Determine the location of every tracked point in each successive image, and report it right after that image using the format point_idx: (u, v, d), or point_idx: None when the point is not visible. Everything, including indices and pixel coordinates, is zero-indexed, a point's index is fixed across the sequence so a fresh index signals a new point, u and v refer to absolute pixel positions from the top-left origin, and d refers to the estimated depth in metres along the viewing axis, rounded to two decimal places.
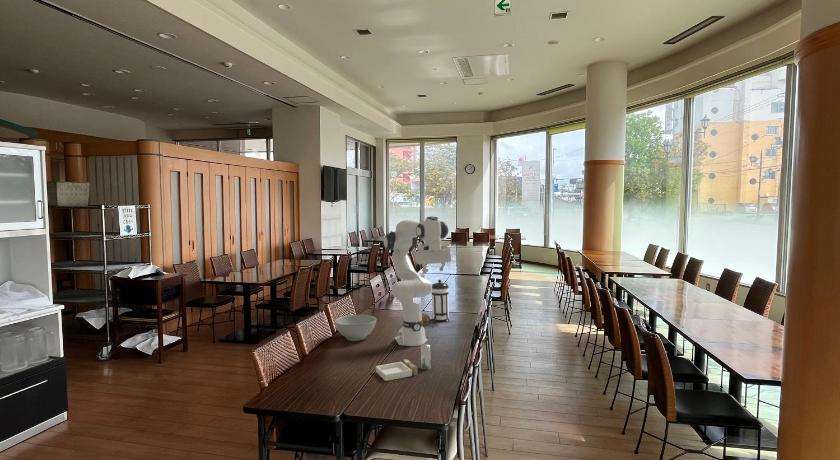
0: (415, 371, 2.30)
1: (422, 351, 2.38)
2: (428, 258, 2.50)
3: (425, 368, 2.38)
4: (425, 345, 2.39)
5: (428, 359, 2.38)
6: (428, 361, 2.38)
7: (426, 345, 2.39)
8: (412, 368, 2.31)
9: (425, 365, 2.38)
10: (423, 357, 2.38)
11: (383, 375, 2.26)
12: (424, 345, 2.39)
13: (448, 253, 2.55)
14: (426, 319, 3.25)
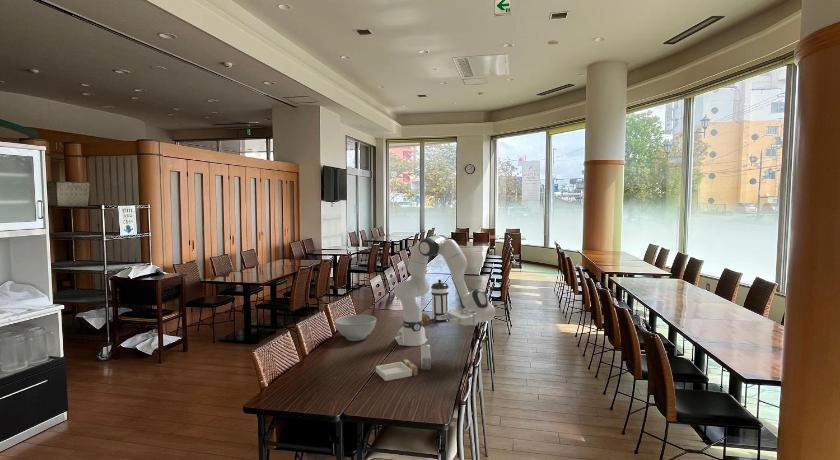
0: (415, 371, 2.30)
1: (422, 351, 2.38)
2: None
3: (425, 368, 2.38)
4: (425, 345, 2.39)
5: (428, 359, 2.38)
6: (428, 361, 2.38)
7: (426, 345, 2.39)
8: (412, 368, 2.31)
9: (425, 365, 2.38)
10: (423, 357, 2.38)
11: (383, 375, 2.26)
12: (424, 345, 2.39)
13: None
14: (426, 319, 3.25)
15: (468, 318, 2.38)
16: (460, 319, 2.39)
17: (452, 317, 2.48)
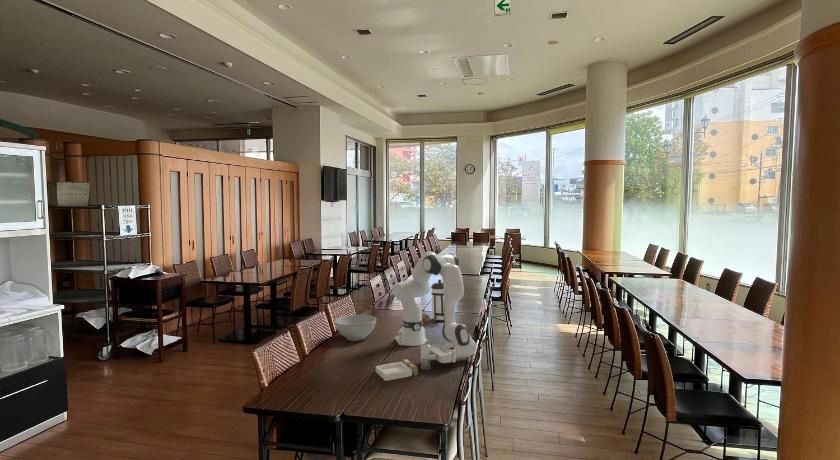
0: (415, 371, 2.30)
1: (422, 351, 2.38)
2: None
3: (425, 368, 2.38)
4: (425, 345, 2.39)
5: (428, 359, 2.38)
6: (428, 361, 2.38)
7: (426, 345, 2.39)
8: (412, 368, 2.31)
9: (425, 365, 2.38)
10: (423, 357, 2.38)
11: (383, 375, 2.26)
12: (424, 345, 2.39)
13: None
14: (426, 319, 3.25)
15: (447, 356, 2.34)
16: (439, 356, 2.34)
17: (431, 353, 2.44)
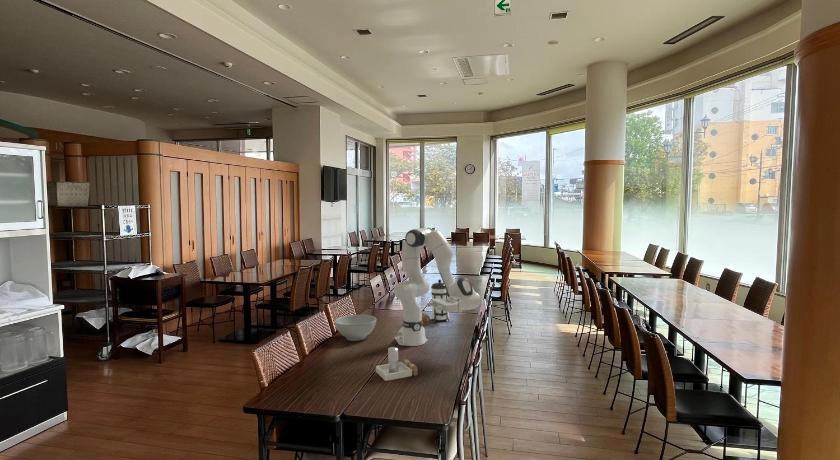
0: (415, 371, 2.30)
1: (389, 355, 2.30)
2: None
3: None
4: (392, 349, 2.31)
5: (395, 363, 2.30)
6: (395, 365, 2.30)
7: (394, 348, 2.31)
8: (412, 368, 2.31)
9: (393, 370, 2.30)
10: (390, 361, 2.30)
11: (383, 375, 2.26)
12: (391, 348, 2.31)
13: None
14: (426, 319, 3.25)
15: (453, 305, 2.42)
16: (445, 306, 2.43)
17: (438, 305, 2.52)
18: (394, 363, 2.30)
